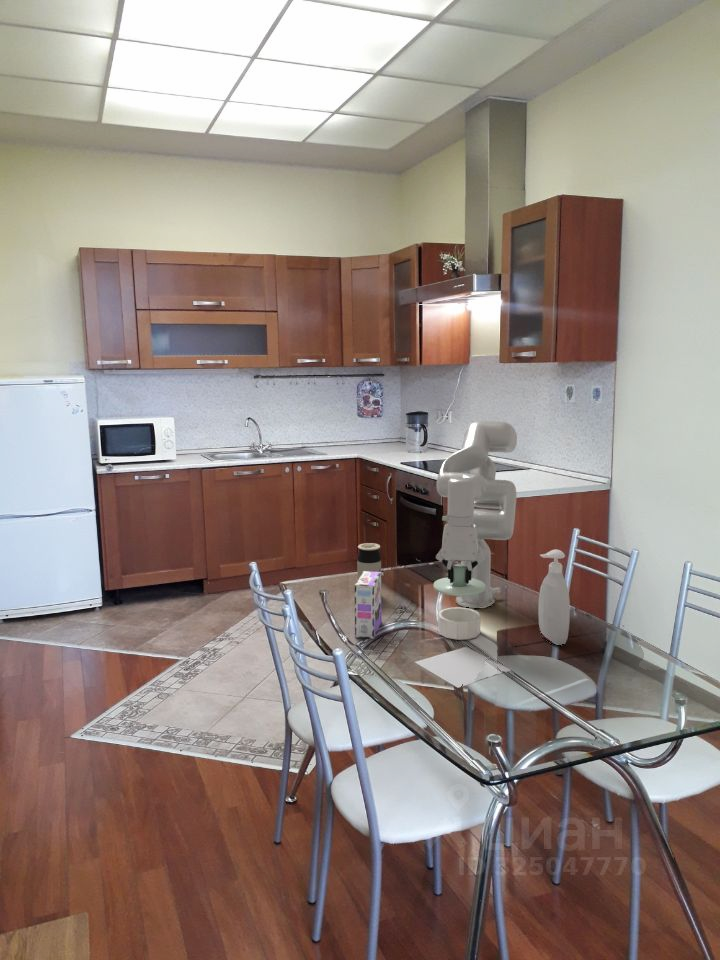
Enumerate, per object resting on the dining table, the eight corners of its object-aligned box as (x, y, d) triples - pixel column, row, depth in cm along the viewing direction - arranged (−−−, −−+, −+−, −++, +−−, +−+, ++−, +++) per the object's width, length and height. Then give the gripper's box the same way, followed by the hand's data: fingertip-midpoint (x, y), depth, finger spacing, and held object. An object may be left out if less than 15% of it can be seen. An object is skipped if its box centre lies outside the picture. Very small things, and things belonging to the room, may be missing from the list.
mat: (465, 648, 207) (465, 646, 207) (511, 672, 192) (511, 670, 192) (414, 664, 198) (414, 662, 198) (457, 689, 183) (457, 687, 183)
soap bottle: (526, 632, 219) (528, 544, 214) (551, 629, 220) (554, 542, 215) (549, 652, 205) (553, 558, 200) (576, 648, 207) (580, 555, 202)
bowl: (461, 624, 226) (461, 604, 225) (488, 636, 216) (488, 616, 215) (430, 632, 219) (430, 612, 218) (456, 646, 209) (456, 625, 208)
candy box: (374, 639, 215) (373, 585, 212) (354, 638, 216) (353, 584, 213) (382, 622, 228) (382, 571, 225) (363, 620, 229) (363, 570, 226)
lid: (462, 576, 225) (462, 556, 224) (496, 589, 212) (497, 568, 211) (423, 585, 217) (423, 564, 216) (456, 599, 204) (456, 577, 203)
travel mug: (353, 598, 249) (352, 547, 246) (365, 591, 256) (365, 541, 252) (373, 602, 245) (373, 550, 242) (385, 595, 252) (385, 544, 248)
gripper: (429, 522, 209) (429, 584, 213) (489, 524, 206) (488, 587, 209) (432, 516, 217) (432, 576, 220) (490, 518, 213) (489, 579, 216)
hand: (459, 581), depth 214 cm, fingers closed on lid, 4 cm apart
